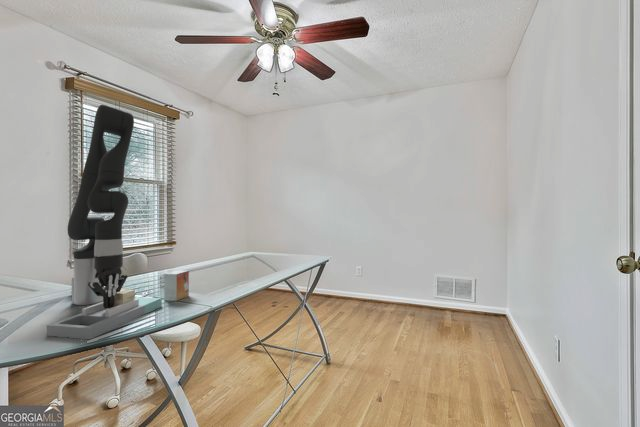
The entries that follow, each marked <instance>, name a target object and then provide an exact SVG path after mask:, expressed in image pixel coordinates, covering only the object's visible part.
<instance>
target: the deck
mask: <svg viewBox="0 0 640 427" xmlns="http://www.w3.org/2000/svg"><path fill="white" fill-rule="evenodd" d="M162 301H163V300H162V297H145V296H144V297H143V296H142V297H141V296H135V299H134V300H131V301H129V302H126V303H123V304H121V305H118V306H115V307H113V308H109V309H106V308H104V306H103V301H101V302H98V303H95V304H91V305H90V306H89V305H88V306H87V307H86V306H85V307H83V308H81V313H78V314H75V315H72V316H69V317H66V318H63V319H60V320H57V321H55V322H52V323H49V324H47V325H46V337H54V336H58V337H57V338H67V337H69V338H70V339H81V340H82V339H83V340H92V339H95V338H96V337H98V336H101V335H102V334H105V333H107V332H109V331H112V330H113V329H116V328H118V327H120V326H122V325H124V324H127V323H128V322H131V321H133V320H135V319H137V318H140V317H142V316H144V315H145V314H148V313H150V312H152V311H154V310H157V309H159V308H161V307H162V303H163V302H162Z"/></svg>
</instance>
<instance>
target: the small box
mask: <svg viewBox="0 0 640 427" xmlns="http://www.w3.org/2000/svg"><path fill="white" fill-rule="evenodd" d="M189 275H190V271H189V270H184V269H183V270H180V269H179V270H174V271H171V272H168V273H164V276H163V277H164V278H163V280H164V281H163V282H164V283H163V286H164V287H163V292H164V293H163V294H164V295H163V298H164V301H168V302H169V301H170V302H172V301H173V302H177V301H179V300H182V299H184V298H188V297H189V295H190V294H189V292H190V289H189V287H190V286H189V283H190V279H189V278H190V277H189Z"/></svg>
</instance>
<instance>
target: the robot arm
mask: <svg viewBox="0 0 640 427" xmlns="http://www.w3.org/2000/svg"><path fill="white" fill-rule="evenodd" d="M94 116H95V118H94V122H93V127H92V133H91V141H90V144H89V148H88V149H89V150H88V154H87V156H86V159H85V160H86V161H85V164H84V167H83V171H82V175H81V179H80V180H81V181H80V184H79V188H78V189H79V190H78V193H77V197H76V199H75V200H76V201H75V203H74V206H73V208H72V211H71V214H70V216H69V220H68V224H67V234H68V237H69V239H71V240H73V241H86V240H88V243H86V244H85V245H84V246H82V247H80V248H77V249H76V250H74V252H73V278H71V304H74V305H75V306H87V305H88V306H89V305H95V304H98V303H101V302H103V306H104V308H106V309H109V308H112V307H114V303H115V302H114V301H115V294H116V293H117V292H120V290H121V289H123V286H124V284H125V283H126V280H128V275H127V274H123V273H122V272H123V271H122V269H121V268H123V265H124V262H123V261H124V250H123V247H124V244H123V238H122V237H123V234H122V233H123V221H124V217H125V214H126V212H127V209H128V205H129V197H128V195H127V194H126V193H125V192H124V191H119V190H112V189H117V188H121V187H122V186H123V184H124V180H125V179H124V178H125V177H124V176H125V166H126V161H127V156H128V152H129V149H130V144H131V140H132V135H133V131H134V127H135V126H134V125H135V120H134V118H135V117H134V116H133V114H132V113H130V112H128V111H126V110H122V109H119V108H116V107H114V106H111V105H107V104H104V103H102V104H99V106H98V108H97V110H96V112H95V115H94ZM105 133H107V134H111V135H114V136H117V137H119V140H118V142H117V143H116V144H115V145H114V146H113V147H112V148H110V149H109V150H107V147H106V143H105V139H104V135H105ZM90 212H92V213H94V214H113V216H112V217H111V218H110V219H105V218H104V217H103V216H102V215H89V214H90Z"/></svg>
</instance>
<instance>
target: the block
mask: <svg viewBox="0 0 640 427" xmlns="http://www.w3.org/2000/svg"><path fill="white" fill-rule="evenodd" d="M135 297H136V290H135V289H126V288H125V289H123V288H121V290H120V292H117V293H116V294H115V301H114V302H115V303H114V307H115V306H118V305H121V304H123V303H126V302H129V301H131V300H134V299H135ZM112 308H113V307H112Z"/></svg>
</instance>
